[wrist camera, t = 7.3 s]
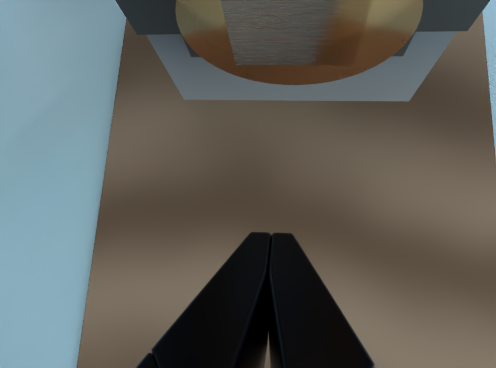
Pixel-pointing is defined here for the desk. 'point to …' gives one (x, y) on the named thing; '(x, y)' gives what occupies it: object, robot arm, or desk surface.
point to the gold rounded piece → (297, 36)
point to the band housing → (348, 89)
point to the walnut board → (303, 208)
